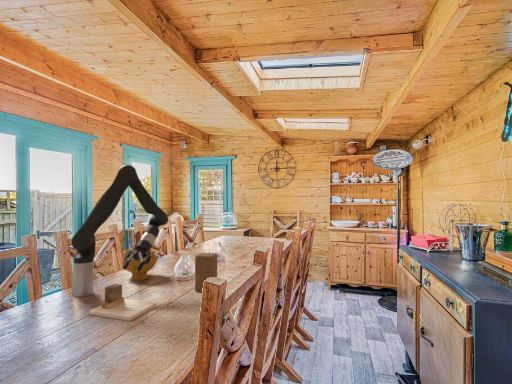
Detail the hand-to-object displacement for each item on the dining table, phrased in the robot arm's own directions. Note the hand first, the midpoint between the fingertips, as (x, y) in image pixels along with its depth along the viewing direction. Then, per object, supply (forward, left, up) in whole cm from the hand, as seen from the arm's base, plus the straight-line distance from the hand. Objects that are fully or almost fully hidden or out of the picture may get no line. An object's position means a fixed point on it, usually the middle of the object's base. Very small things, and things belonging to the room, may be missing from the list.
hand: (130, 269), depth 154 cm
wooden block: (+28, +27, -16) cm, 42 cm away
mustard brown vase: (-24, +36, -16) cm, 46 cm away
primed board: (+6, -12, -15) cm, 20 cm away
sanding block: (0, -12, -14) cm, 18 cm away
